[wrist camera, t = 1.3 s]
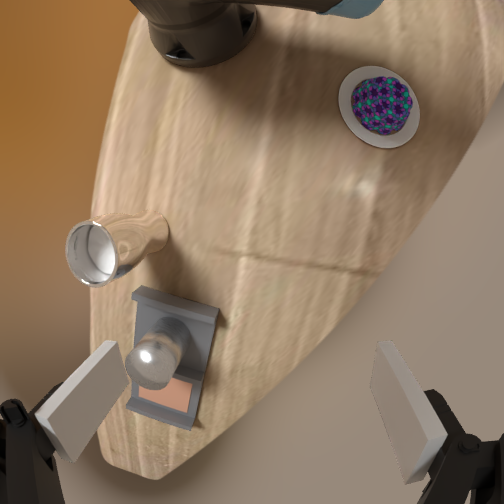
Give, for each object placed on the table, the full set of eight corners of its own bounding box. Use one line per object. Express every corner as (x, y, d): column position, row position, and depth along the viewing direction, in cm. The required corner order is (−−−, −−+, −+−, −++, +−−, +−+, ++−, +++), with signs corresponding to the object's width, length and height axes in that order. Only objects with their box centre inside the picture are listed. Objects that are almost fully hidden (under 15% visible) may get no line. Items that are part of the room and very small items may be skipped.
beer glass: (119, 222, 41) (54, 240, 26) (157, 196, 39) (97, 204, 25) (142, 264, 42) (85, 300, 27) (181, 241, 40) (132, 271, 26)
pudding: (417, 155, 36) (434, 152, 30) (335, 141, 36) (344, 135, 31) (416, 78, 33) (431, 66, 28) (337, 60, 34) (345, 45, 29)
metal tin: (146, 324, 43) (116, 357, 33) (177, 310, 42) (152, 344, 32) (166, 356, 44) (142, 394, 34) (198, 345, 43) (179, 384, 33)
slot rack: (141, 285, 42) (132, 292, 39) (219, 308, 42) (214, 318, 39) (133, 397, 47) (126, 408, 44) (195, 418, 47) (190, 431, 44)
